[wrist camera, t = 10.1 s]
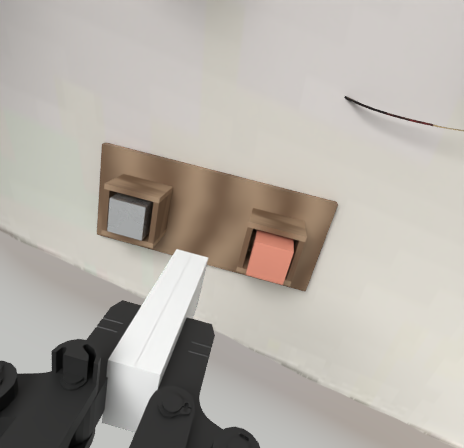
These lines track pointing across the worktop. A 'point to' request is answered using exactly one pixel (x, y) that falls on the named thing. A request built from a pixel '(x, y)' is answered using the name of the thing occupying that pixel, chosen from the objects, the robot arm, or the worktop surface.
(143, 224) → the steel plug
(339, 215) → the worktop surface
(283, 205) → the socket panel
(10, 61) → the worktop surface
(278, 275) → the salmon pink plug
